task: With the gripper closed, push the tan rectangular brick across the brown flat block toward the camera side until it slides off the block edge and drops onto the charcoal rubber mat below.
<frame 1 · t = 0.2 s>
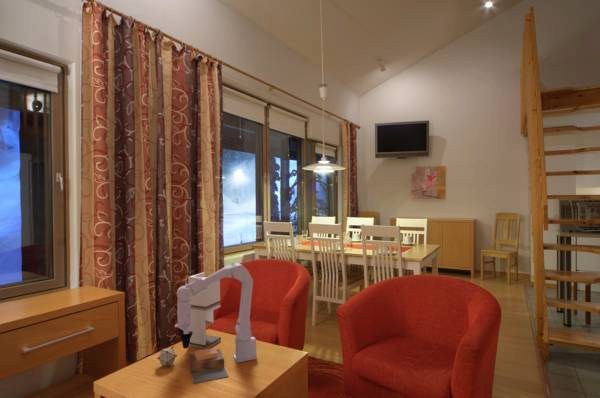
hand: (185, 344, 162), 10 cm above the table, fingers open, 7 cm apart
tall white column: (205, 344, 188), on the table
mat: (209, 375, 155), on the table
grey spiky polyhedron: (167, 366, 164), on the table
brown flat block: (206, 365, 164), on the table
tan rectangular brick: (206, 356, 164), point 4 cm above the table, touching brown flat block
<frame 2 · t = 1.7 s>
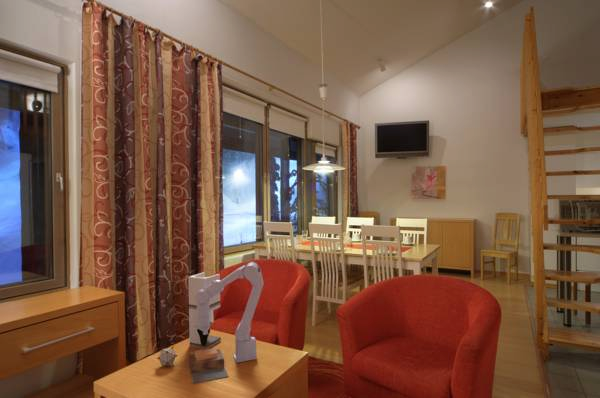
hand: (203, 344, 170), 7 cm above the table, fingers closed
nothing on the table moved.
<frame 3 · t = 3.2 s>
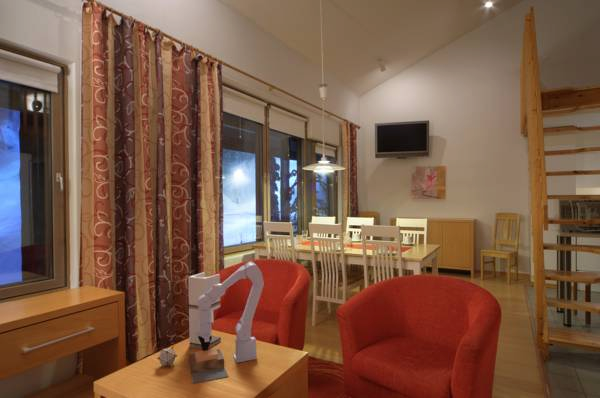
hand: (205, 351, 166), 5 cm above the table, fingers closed
tan rectangular brick: (206, 357, 163), point 4 cm above the table, touching brown flat block, gripper
everything else where it was.
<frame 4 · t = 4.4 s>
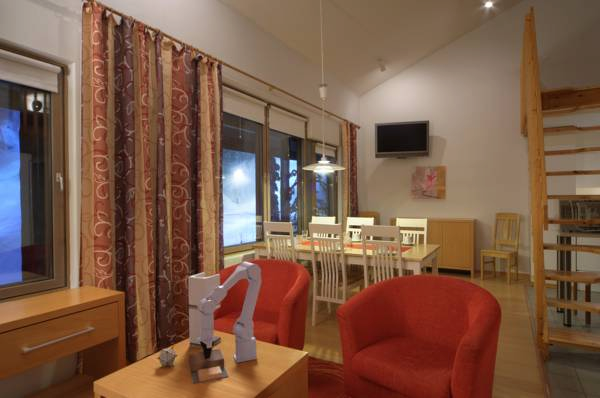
hand: (207, 358, 160), 5 cm above the table, fingers closed
tan rectangular brick: (209, 371, 154), point 2 cm above the table, tilted 180°, touching mat
everything else where it was.
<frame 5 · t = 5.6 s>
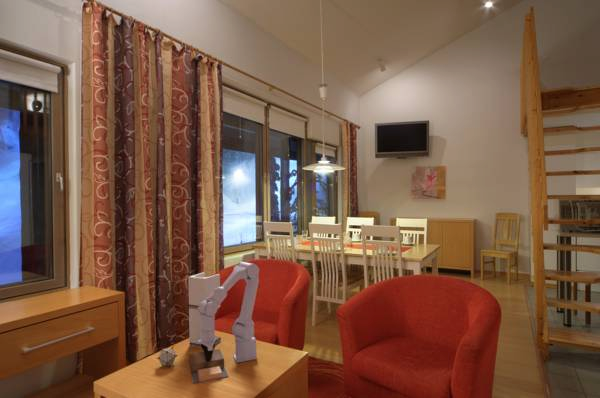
hand: (208, 360, 158), 5 cm above the table, fingers closed
nothing on the table moved.
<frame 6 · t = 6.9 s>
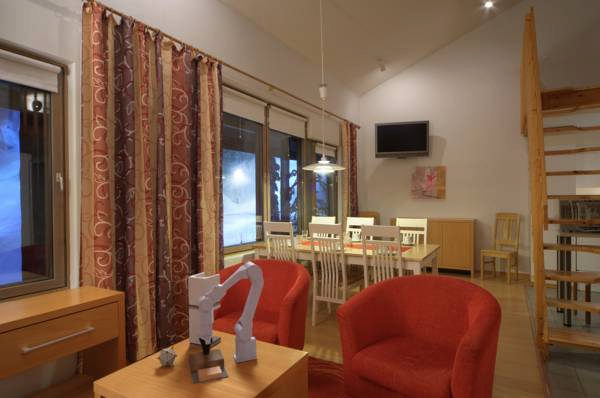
hand: (206, 354, 164), 5 cm above the table, fingers closed
nothing on the table moved.
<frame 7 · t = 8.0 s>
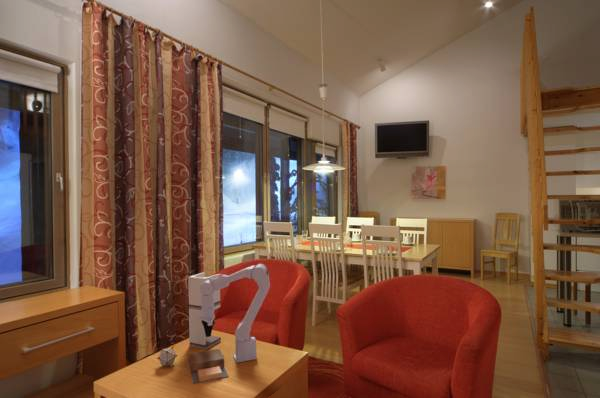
hand: (208, 336, 171), 10 cm above the table, fingers closed
nothing on the table moved.
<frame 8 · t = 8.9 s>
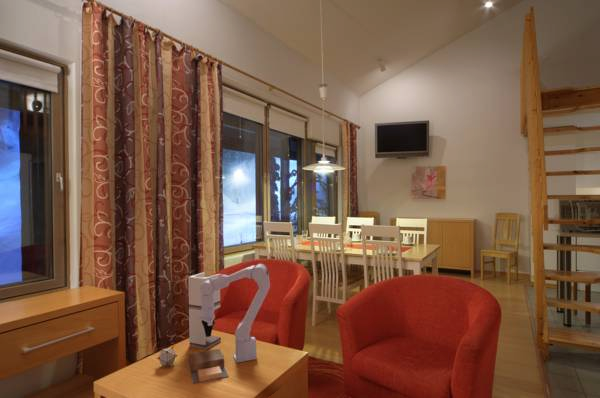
hand: (208, 336, 171), 10 cm above the table, fingers closed
nothing on the table moved.
at the end: tan rectangular brick point 2.3 cm above the table; tan rectangular brick inside the target area on the mat (1.0 cm from its centre), point 2.3 cm above the mat's base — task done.
